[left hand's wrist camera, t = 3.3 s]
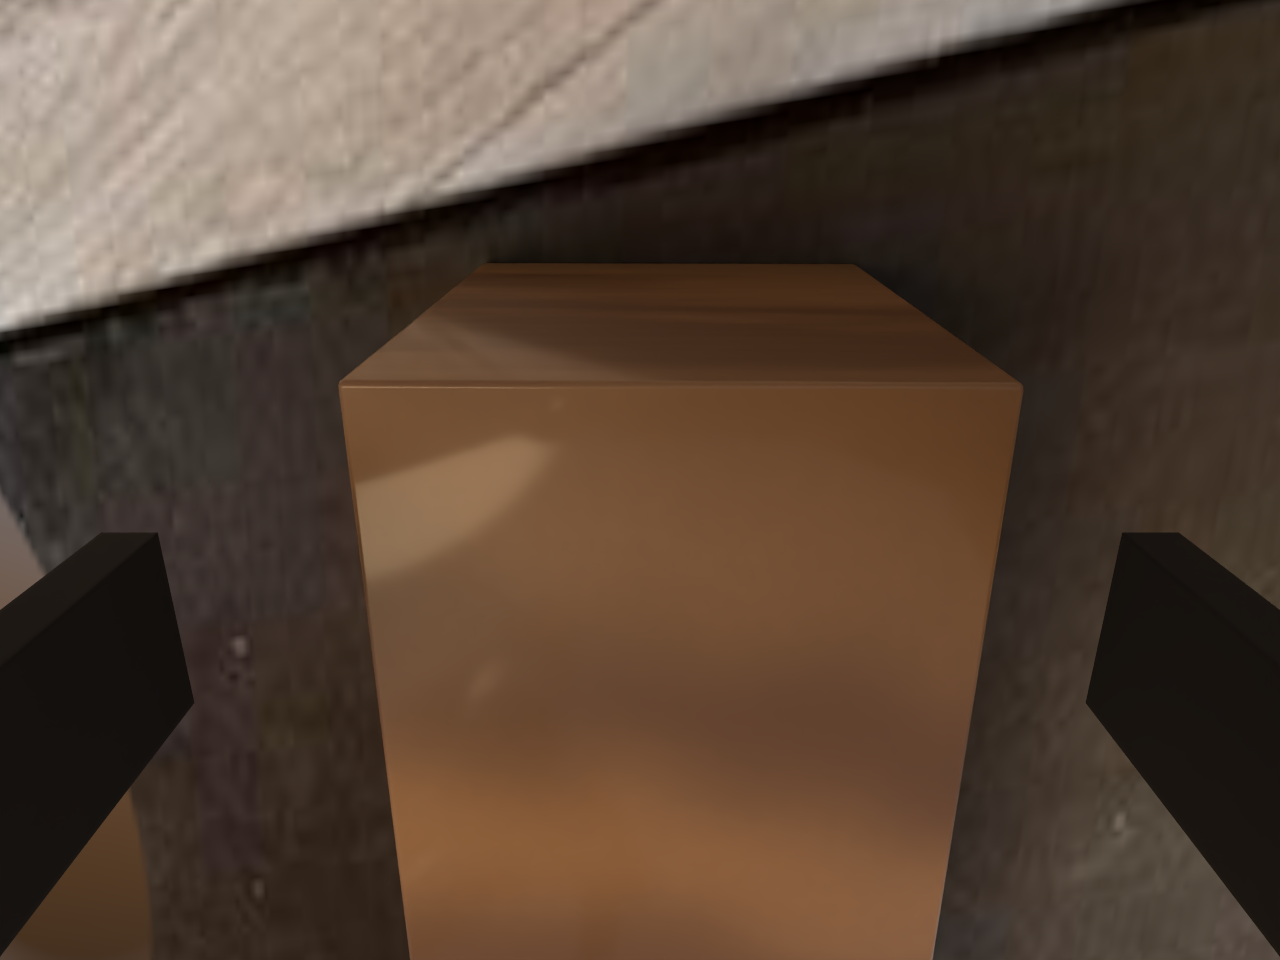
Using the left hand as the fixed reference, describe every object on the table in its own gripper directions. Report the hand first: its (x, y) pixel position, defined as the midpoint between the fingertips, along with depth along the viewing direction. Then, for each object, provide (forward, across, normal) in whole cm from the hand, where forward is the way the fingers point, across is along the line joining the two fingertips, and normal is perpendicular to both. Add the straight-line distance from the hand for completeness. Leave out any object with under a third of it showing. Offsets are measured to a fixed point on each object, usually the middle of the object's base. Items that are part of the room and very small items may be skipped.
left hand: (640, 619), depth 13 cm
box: (+11, +1, -7) cm, 13 cm away
